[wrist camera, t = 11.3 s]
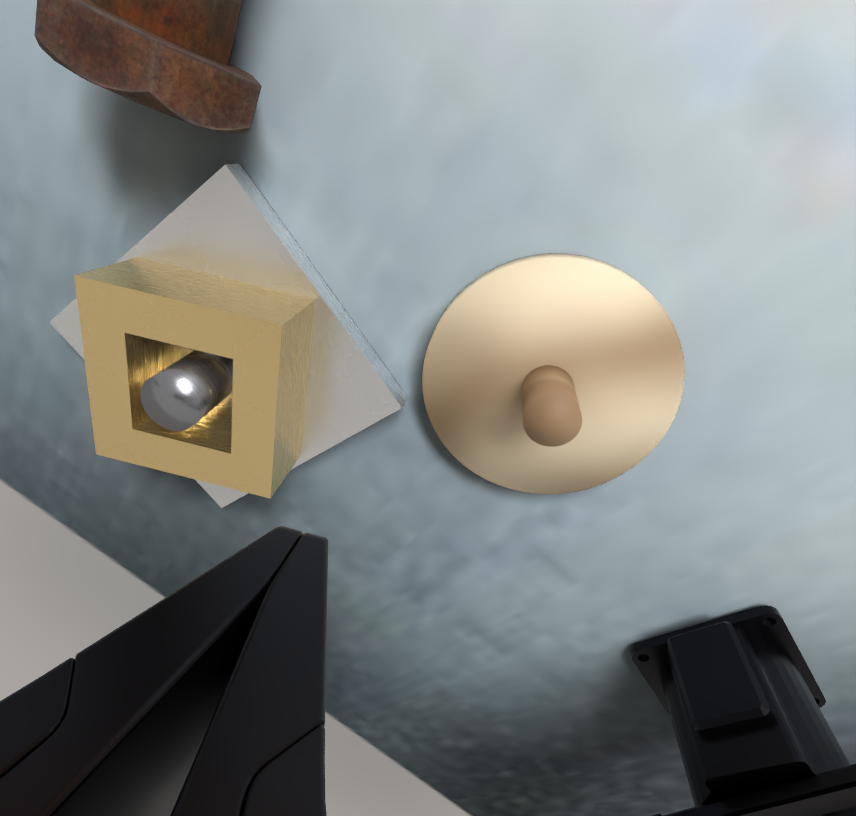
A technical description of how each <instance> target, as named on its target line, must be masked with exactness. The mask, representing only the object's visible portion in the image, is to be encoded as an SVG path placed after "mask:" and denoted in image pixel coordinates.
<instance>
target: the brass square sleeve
mask: <svg viewBox="0 0 856 816" xmlns="http://www.w3.org/2000/svg"><path fill="white" fill-rule="evenodd" d="M74 278H75V286H76V294H77V302H78V311H79V319H80V327H81V335H82V343H83V351H84V359H85V367H86V375H87V383H88V392H89V400H90V408H91V416H92V424H93V432H94V440H95V448H96V454H97V455H101V456H105V457H109V458H113V459H117V460H121V461H125V462H129V463H132V464H136V465H140V466H144V467H148V468H152V469H156V470H160V471H164V472H168V473H172V474H176V475H180V476H184V477H187V478H191V479H195V480H199V481H203V482H207V483H211V484H215V485H219V486H223V487H227V488H231V489H235V490H239V491H243V492H246V493H250V494H254V495H258V496H262V497H266V498H270V499H271V497H272V496H273V494H274V493H275V491H276V490H277V489H278V487H279V486H280V484H281V483H282V481H283V480H284V479H285V477H286V476H287V474H288V473H289V471H290V470H291V468H292V467H293V466H294V464H295V463H296V461H297V460H298V458H299V457H300V456H301V448H302V438H303V427H304V417H305V406H306V396H307V385H308V375H309V364H310V354H311V343H312V332H313V322H314V311H315V301H316V299H312V298H308V297H303V296H299V295H295V294H291V293H287V292H282V291H278V290H274V289H270V288H265V287H261V286H257V285H253V284H248V283H244V282H240V281H236V280H232V279H227V278H223V277H219V276H215V275H210V274H206V273H202V272H198V271H194V270H189V269H185V268H181V267H177V266H172V265H168V264H164V263H160V262H155V261H151V260H147V259H143V258H139V257H136V258H132V259H129V260H125V261H122V262H119V263H115V264H112V265H108V266H105V267H101V268H98V269H94V270H91V271H88V272H84V273H81V274H77V275H74ZM180 346H181V347H186V348H190V349H194V350H198V351H202V352H206V353H210V354H214V355H218V356H223V357H227V358H231V359H233V388H232V406H230V405H226V404H222V403H219V404H218V405H217V406H216V407H215V408H213V409H212V410H211V411H210V412H209V413H208V414H206V415H205V416H204V417H203V418H202V419H201V420H200V421H198V422H197V423H196V424H195V425H194V426H193V427H191V428H190V429H187V430H184V431H172V430H169V429H166V428H163V427H162V426H160V425H158V424H157V423H156V422H154V421H153V420H152V419H151V418H150V417H149V416H148V414H147V413H146V411H145V410H144V408H143V405H142V403H141V398H140V392H141V388H142V386H143V384H144V383H145V381H146V380H148V379H149V378H151V377H152V376H154V375H155V374H157V373H159V372H160V371H162V370H163V369H165V368H166V367H168V366H170V365H171V364H173V363H174V362H176V361H178V360H179V359H180Z"/></svg>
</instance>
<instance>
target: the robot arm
mask: <svg viewBox="0 0 856 816" xmlns="http://www.w3.org/2000/svg"><path fill="white" fill-rule="evenodd" d="M327 574H328V540H327V538H325V537H322V536H318V535H314V534H310V533H305V534H303V533H302V532H301V531H298V530H295V529H291V528H287V527H282V526H280V527H277V528H275V529H273V530H272V531H270V532H269V533H267V534H266V535H264V536H262V537H261V538H259V539H258V540H256V541H254V542H253V543H251V544H250V545H248V546H247V547H245V548H243V549H242V550H240V551H239V552H237V553H236V554H234V555H232V556H231V557H229V558H228V559H226V560H225V561H223V562H221V563H220V564H218V565H217V566H215V567H213V568H212V569H210V570H209V571H207V572H206V573H204V574H202V575H201V576H199V577H198V578H196V579H195V580H193V581H191V582H190V583H188V584H187V585H185V586H183V587H182V588H180V589H179V590H177V591H176V592H174V593H172V594H171V595H169V596H168V597H166V598H165V599H163V600H162V601H160V602H158V603H157V604H155V605H154V606H152V607H150V608H149V609H147V610H146V611H144V612H143V613H141V614H139V615H138V616H136V617H135V618H133V619H132V620H130V621H128V622H127V623H125V624H124V625H122V626H120V627H119V628H117V629H116V630H114V631H113V632H111V633H109V634H108V635H106V636H105V637H103V638H101V639H100V640H98V641H97V642H96V643H94V644H92V645H91V646H89V647H87V648H86V649H84V650H83V651H81V652H80V653H78V654H77V655H76V657H75V659H73V658H70V659H68V660H66V661H65V662H63V663H62V664H60V665H59V666H57V667H55V668H54V669H52V670H51V671H49V672H47V673H46V674H45V675H43V676H41V677H39V678H38V679H36V680H35V681H33V682H31V683H30V684H28V685H26V686H25V687H23V688H21V689H20V690H18V691H16V692H15V693H13V694H12V695H10V696H8V697H7V698H5V699H3V700H2V701H0V816H326V805H325V764H324V762H325V761H324V760H325V759H324V756H325V752H324V751H325V728H324V724H325V686H326V630H327ZM766 618H768V619H766ZM630 651H631V655H632V659H633V661H634V663H635V664H636V666H637V667H638V669H639V670H640V672H641V673H642V675H643V676H644V677H645V679H646V680H647V682H648V683H649V685H650V686H651V688H652V689H653V691H654V692H655V693H656V695H657V696H658V698H659V699H660V701H661V702H662V704H663V705H664V707H665V708H666V710H667V711H668V712H669V714H670V716H671V720H672V724H673V727H674V731H675V734H676V738H677V742H678V745H679V749H680V753H681V756H682V760H683V764H684V767H685V771H686V775H687V778H688V782H689V786H690V789H691V793H692V797H693V800H694V804H695V807H693V808H690V809H686V810H682V811H679V812H675V813H671V814H667V815H664V816H856V764H854V765H850V764H849V762H848V760H847V758H846V756H845V754H844V753H843V751H842V749H841V747H840V745H839V743H838V742H837V740H836V738H835V736H834V734H833V732H832V730H831V729H830V727H829V725H828V723H827V721H826V719H825V718H824V716H823V714H822V712H821V710H820V707H822V706H823V705H824V704H825V703H826V700H825V698H824V696H823V694H822V692H821V690H820V688H819V686H818V685H817V683H816V681H815V679H814V677H813V675H812V673H811V671H810V670H809V668H808V666H807V664H806V662H805V660H804V658H803V656H802V655H801V653H800V651H799V649H798V647H797V645H796V643H795V641H794V640H793V638H792V636H791V634H790V632H789V630H788V628H787V626H786V625H785V623H784V621H783V619H782V617H781V615H780V614H779V612H778V610H777V609H776V608H774V607H772V606H763V607H759V608H755V609H752V610H749V611H745V612H742V613H738V614H735V615H732V616H728V617H725V618H722V619H718V620H715V621H711V622H708V623H705V624H701V625H698V626H695V627H691V628H688V629H684V630H681V631H678V632H674V633H671V634H668V635H664V636H661V637H657V638H654V639H651V640H647V641H644V642H641V643H637V644H635V645H633V646H632V647H631V650H630ZM652 816H662V815H661V814H656V815H652Z"/></svg>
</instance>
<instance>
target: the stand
mask: <svg viewBox="0 0 856 816" xmlns="http://www.w3.org/2000/svg"><path fill="white" fill-rule="evenodd" d="M684 375H685V371H684V357H683V352H682V348H681V344H680V340H679V337H678V335H677V332H676V330H675V328H674V325H673V323H672V322H671V320H670V318H669V317H668V315H667V313H666V312H665V310H664V309H663V308H662V307H661V305H660V304H659V303H658V302H657V301H656V299H655V298H654V297H653V296H652V295H651V294H650V293H649V292H648V291H647V290H646V289H645V288H644V287H643V286H642V285H641V284H640V283H638V282H637V281H636V280H635V279H634V278H632V277H631V276H629V275H628V274H626V273H625V272H623V271H622V270H620V269H618V268H616V267H614V266H612V265H609V264H607V263H605V262H603V261H599V260H596V259H593V258H589V257H586V256H580V255H573V254H557V253H549V254H540V255H532V256H527V257H523V258H519V259H515V260H512V261H510V262H507V263H505V264H502V265H499V266H497V267H495V268H493V269H492V270H490V271H488V272H486V273H484V274H483V275H481V276H480V277H478V278H477V279H476V280H474V281H473V282H471V283H470V284H469V285H468V286H467V287H466V288H464V289H463V290H462V291H461V292H460V293H459V294H458V295H457V296H456V297H455V299H454V300H453V301H452V302H451V304H450V305H449V306H448V307H447V309H446V310H445V312H444V313H443V315H442V317H441V318H440V320H439V322H438V324H437V326H436V329H435V331H434V333H433V335H432V338H431V340H430V342H429V345H428V348H427V352H426V355H425V359H424V366H423V373H422V390H423V396H424V403H425V407H426V410H427V413H428V417H429V419H430V421H431V424H432V426H433V428H434V430H435V432H436V434H437V435H438V437H439V438H440V440H441V442H442V443H443V444H444V446H445V447H446V448H447V449H448V450H449V452H450V453H451V454H452V455H453V456H454V457H455V458H456V459H457V460H458V461H459V462H460V463H461V464H463V465H464V466H465V467H467V468H468V469H469V470H471V471H472V472H474V473H475V474H477V475H479V476H480V477H482V478H484V479H486V480H488V481H490V482H492V483H495V484H497V485H499V486H503V487H506V488H509V489H512V490H517V491H522V492H527V493H537V494H562V493H569V492H576V491H580V490H585V489H589V488H592V487H595V486H598V485H600V484H603V483H606V482H608V481H610V480H612V479H614V478H616V477H618V476H620V475H622V474H623V473H625V472H626V471H628V470H630V469H631V468H633V467H634V466H635V465H637V464H638V463H639V462H640V461H641V460H643V459H644V458H645V457H646V456H647V455H648V454H649V453H650V452H651V451H652V450H653V449H654V448H655V447H656V446H657V444H658V443H659V442H660V440H661V439H662V438H663V436H664V435H665V434H666V432H667V431H668V429H669V427H670V425H671V423H672V422H673V420H674V418H675V415H676V412H677V410H678V407H679V405H680V401H681V397H682V392H683V387H684Z"/></svg>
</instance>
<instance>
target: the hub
mask: <svg viewBox="0 0 856 816" xmlns="http://www.w3.org/2000/svg"><path fill="white" fill-rule="evenodd" d="M136 257H139V258H143V259H147V260H151V261H155V262H160V263H164V264H168V265H172V266H177V267H181V268H185V269H189V270H194V271H198V272H202V273H206V274H210V275H215V276H219V277H223V278H227V279H232V280H236V281H240V282H244V283H248V284H253V285H257V286H261V287H265V288H270V289H274V290H278V291H282V292H287V293H291V294H295V295H299V296H303V297H308V298H312V299H316V301H315V311H314V322H313V332H312V343H311V354H310V364H309V375H308V385H307V396H306V406H305V417H304V427H303V438H302V448H301V456H300V457H299V458H298V460H297V461H296V463H295V464H294V466H293V467H292V468H291V469H293V468H295V467H297V466H299V465H300V464H302V463H304V462H306V461H308V460H309V459H311V458H313V457H315V456H317V455H318V454H320V453H322V452H324V451H326V450H327V449H329V448H331V447H333V446H335V445H336V444H338V443H340V442H342V441H344V440H345V439H347V438H349V437H351V436H353V435H354V434H356V433H358V432H360V431H362V430H363V429H365V428H367V427H369V426H371V425H372V424H374V423H376V422H378V421H380V420H381V419H383V418H385V417H387V416H389V415H390V414H392V413H394V412H396V411H398V410H399V409H401V408H402V407H403V405H404V403H405V400H406V398H407V396H406V395H405V393H404V392H403V390H402V389H401V388H400V386H399V385H398V383H397V382H396V381H395V379H394V378H393V376H392V375H391V374H390V372H389V371H388V370H387V368H386V367H385V365H384V364H383V363H382V361H381V360H380V358H379V357H378V356H377V354H376V353H375V351H374V350H373V349H372V347H371V346H370V344H369V343H368V342H367V340H366V339H365V337H364V336H363V335H362V333H361V332H360V331H359V329H358V328H357V326H356V325H355V324H354V322H353V321H352V319H351V318H350V317H349V315H348V314H347V312H346V311H345V310H344V308H343V307H342V305H341V304H340V303H339V301H338V300H337V298H336V297H335V296H334V294H333V293H332V292H331V290H330V289H329V287H328V286H327V285H326V283H325V282H324V280H323V279H322V278H321V276H320V275H319V273H318V272H317V271H316V269H315V268H314V266H313V265H312V264H311V262H310V261H309V259H308V258H307V257H306V255H305V254H304V253H303V251H302V250H301V248H300V247H299V246H298V244H297V243H296V241H295V240H294V239H293V237H292V236H291V234H290V233H289V232H288V230H287V229H286V227H285V226H284V225H283V223H282V222H281V220H280V219H279V218H278V216H277V215H276V213H275V212H274V211H273V209H272V208H271V207H270V205H269V204H268V202H267V201H266V200H265V198H264V197H263V195H262V194H261V193H260V191H259V190H258V188H257V187H256V186H255V184H254V183H253V181H252V180H251V179H250V177H249V176H248V174H247V173H246V172H245V170H244V169H243V168H242V166H241V165H240V164H225V165H224V166H223V167H222V168H221V169H219V170H218V171H217V172H216V173H215V174H214V175H213V176H212V177H211V178H209V179H208V180H207V181H206V182H205V183H204V184H203V185H202V186H200V187H199V188H198V189H197V190H196V191H195V192H194V193H193V194H192V195H190V196H189V197H188V198H187V199H186V200H185V201H184V202H183V203H182V204H180V205H179V206H178V207H177V208H176V209H175V210H174V211H173V212H171V213H170V214H169V215H168V216H167V217H166V218H165V219H164V220H163V221H161V222H160V223H159V224H158V225H157V226H156V227H155V228H154V229H153V230H151V231H150V232H149V233H148V234H147V235H146V236H145V237H144V238H142V239H141V240H140V241H139V242H138V243H137V244H136V245H135V246H134V247H132V248H131V249H130V250H129V251H128V252H127V253H126V254H125V255H124V256H122V257H121V258H120V259H119V260H118V261H117V262H116V263H119V262H122V261H125V260H129V259H132V258H136ZM50 323H51V324H52V325H53V327H54V328H55V329H56V330H57V331H58V332H59V333H60V334H61V335H62V336H63V337H64V338H65V340H66V341H67V342H68V343H69V344H70V345H71V346H72V347H73V348H74V349H75V350H76V351H77V352H78V354H79V355H80V356H81V357H82V358H83V359H84V351H83V343H82V335H81V327H80V319H79V311H78V302H77V298H76V299H74V300H73V301H72V302H71V303H70V304H69V305H68V306H67V307H66V308H64V309H63V310H62V311H61V312H60V313H59V314H58V315H57V316H55V317H54V318H53V319H52V320H51V321H50ZM84 360H85V359H84ZM232 388H233V359H231V358H227V357H223V356H218V355H214V354H210V353H206V352H202V351H198V350H194V349H190V348H186V347H181V346H180V359H179V360H178V361H176V362H174V363H173V364H171V365H170V366H168V367H166V368H165V369H163V370H162V371H160V372H159V373H157V374H155V375H154V376H152V377H151V378H149V379H148V380H146V381H145V383H144V384H143V386H142V388H141V392H140V398H141V403H142V405H143V408H144V410H145V411H146V413H147V414H148V416H149V417H150V418H151V419H152V420H153V421H154V422H156V423H157V424H158V425H160V426H162V427H163V428H166V429H169V430H172V431H184V430H187V429H190V428H191V427H193V426H194V425H195V424H196V423H197V422H198V421H200V420H201V419H202V418H203V417H204V416H205V415H206V414H208V413H209V412H210V411H211V410H212V409H213V408H215V407H216V406H217V405H218V404H219V403H222V404H226V405H230V406H232ZM196 481H197V482H198V483H199V484H200V485H201V487H202V488H203V489H204V490H205V491H206V492H207V493H208V494H209V495H210V496H211V497H212V498H213V500H214V501H215V502H216V503H217V504H218V505H219V506H220V507H221V508H223V507H225V506H227V505H228V504H230V503H232V502H234V501H236V500H237V499H239V498H241V497H243V496H245V495H246V494H248V493H246V492H243V491H239V490H235V489H231V488H227V487H223V486H219V485H215V484H211V483H207V482H203V481H199V480H196Z"/></svg>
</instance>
